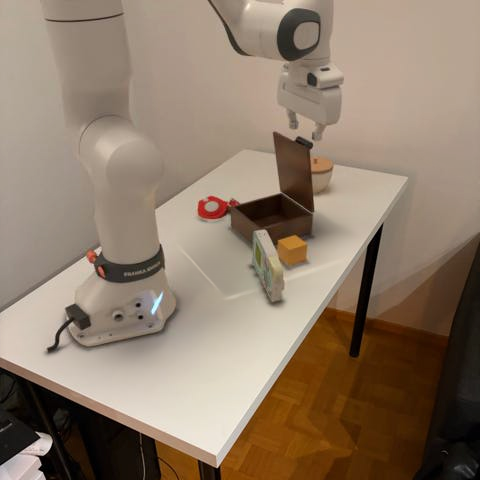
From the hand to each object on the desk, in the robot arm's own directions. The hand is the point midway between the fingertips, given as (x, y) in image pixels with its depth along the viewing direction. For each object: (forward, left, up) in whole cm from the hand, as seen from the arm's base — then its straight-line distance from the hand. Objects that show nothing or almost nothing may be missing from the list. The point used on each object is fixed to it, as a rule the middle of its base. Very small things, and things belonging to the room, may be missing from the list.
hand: (304, 134), depth 114 cm
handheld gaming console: (-22, -19, -24) cm, 38 cm away
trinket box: (+16, +16, -24) cm, 33 cm away
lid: (-3, 0, -9) cm, 9 cm away
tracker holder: (-16, +16, -24) cm, 33 cm away
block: (-12, -14, -24) cm, 30 cm away
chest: (-9, 0, -24) cm, 25 cm away
